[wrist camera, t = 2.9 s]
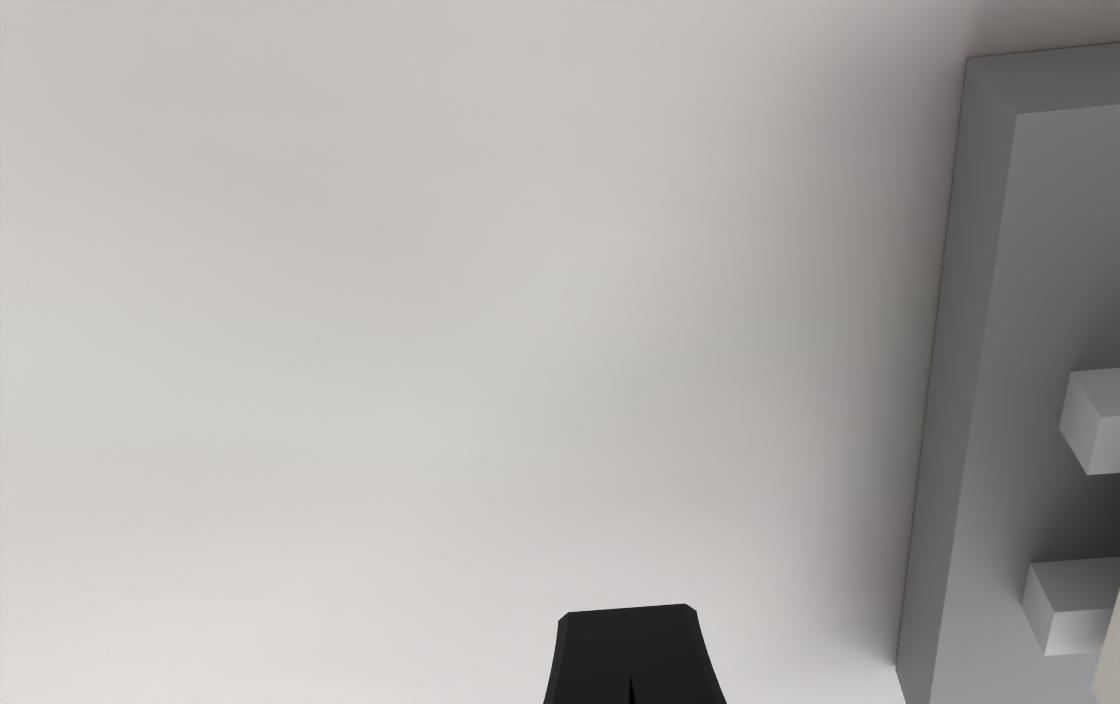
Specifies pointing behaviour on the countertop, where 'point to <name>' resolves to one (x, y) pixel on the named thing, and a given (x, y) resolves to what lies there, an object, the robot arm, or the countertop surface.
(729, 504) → the countertop surface
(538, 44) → the countertop surface
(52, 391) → the countertop surface
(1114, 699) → the fader tab
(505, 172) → the countertop surface
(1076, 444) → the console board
